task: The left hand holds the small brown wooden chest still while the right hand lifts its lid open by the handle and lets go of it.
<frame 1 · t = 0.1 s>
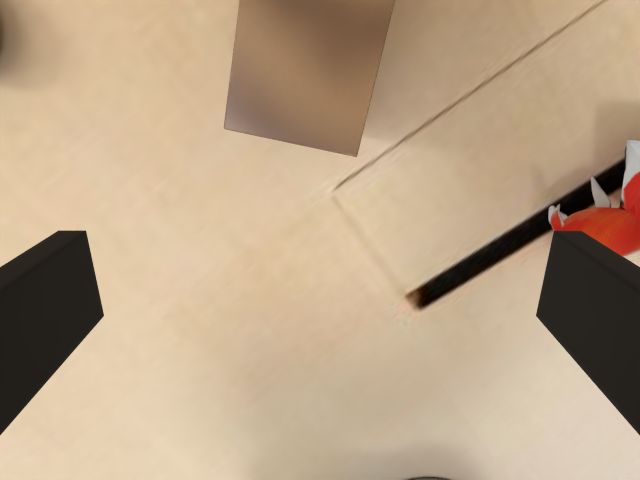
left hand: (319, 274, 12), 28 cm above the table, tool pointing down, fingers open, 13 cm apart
fish: (592, 190, 40), on the table
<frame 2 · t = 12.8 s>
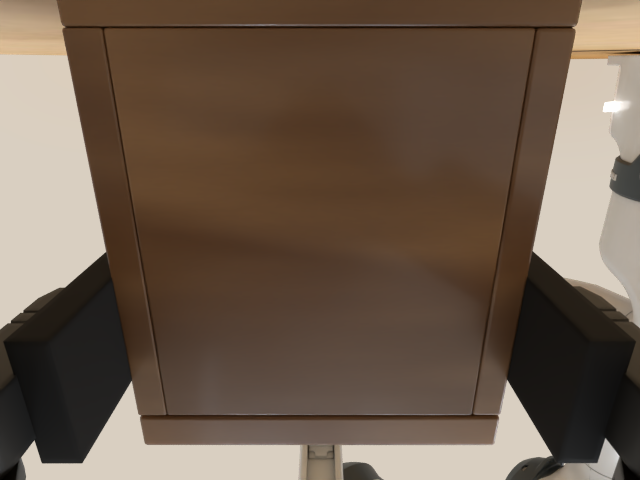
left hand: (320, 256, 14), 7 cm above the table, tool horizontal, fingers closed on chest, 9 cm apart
chest: (319, 24, 15), on the table, touching left hand
lid: (319, 348, 20), point 14 cm above the table, hinge at 0.0°
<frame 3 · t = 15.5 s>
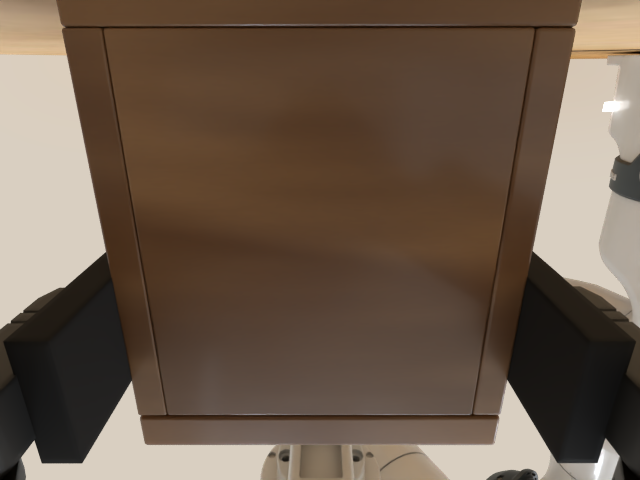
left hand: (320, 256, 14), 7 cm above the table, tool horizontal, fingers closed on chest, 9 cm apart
chest: (319, 24, 15), on the table, touching left hand
lid: (320, 348, 20), point 14 cm above the table, hinge at -0.1°, touching right hand
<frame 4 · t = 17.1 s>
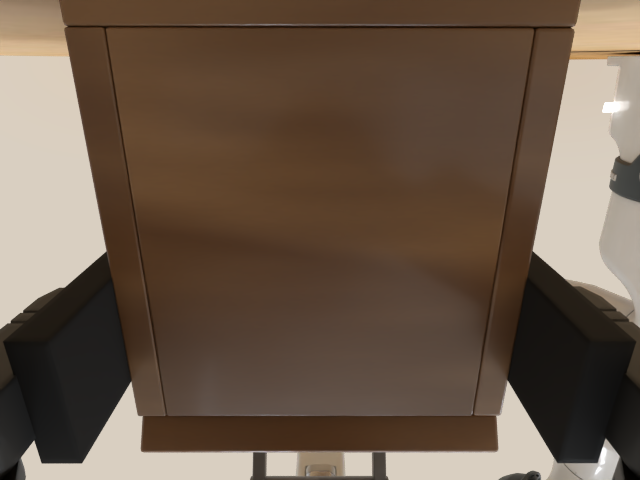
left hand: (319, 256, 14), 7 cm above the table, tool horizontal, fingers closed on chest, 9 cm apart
chest: (319, 27, 15), on the table, touching left hand
lid: (319, 468, 19), point 18 cm above the table, hinge at 30.0°, touching right hand
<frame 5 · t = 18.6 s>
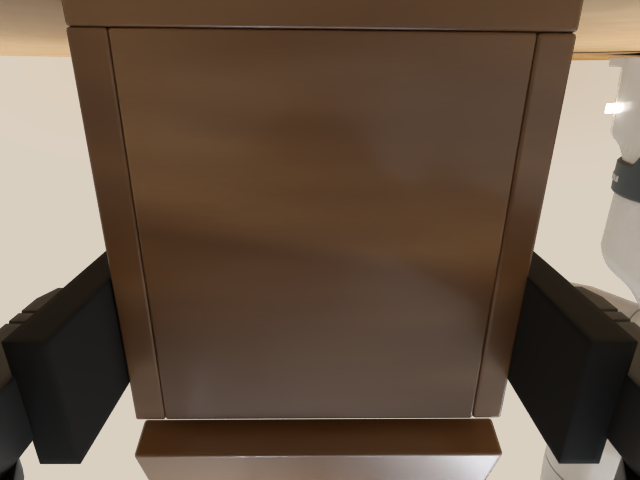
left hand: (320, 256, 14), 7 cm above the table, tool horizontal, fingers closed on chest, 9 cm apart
chest: (318, 29, 15), on the table, touching left hand
when the left hand's fingers open (7 cm above the table, at t = 23.1 s): chest stays where it is, on the table.
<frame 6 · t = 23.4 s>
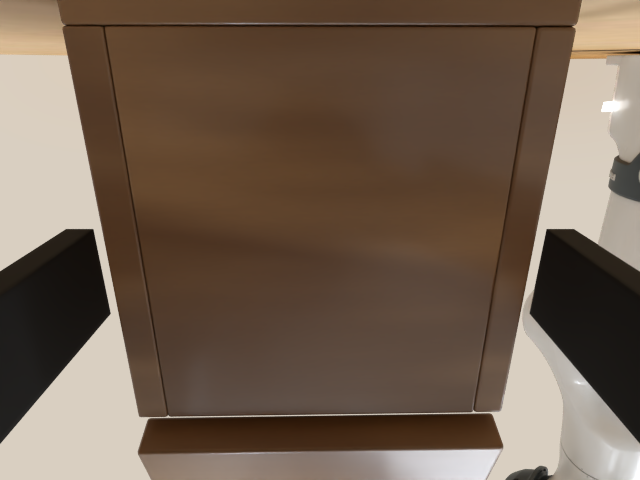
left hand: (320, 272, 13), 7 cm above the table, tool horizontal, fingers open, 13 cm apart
chest: (316, 24, 15), on the table
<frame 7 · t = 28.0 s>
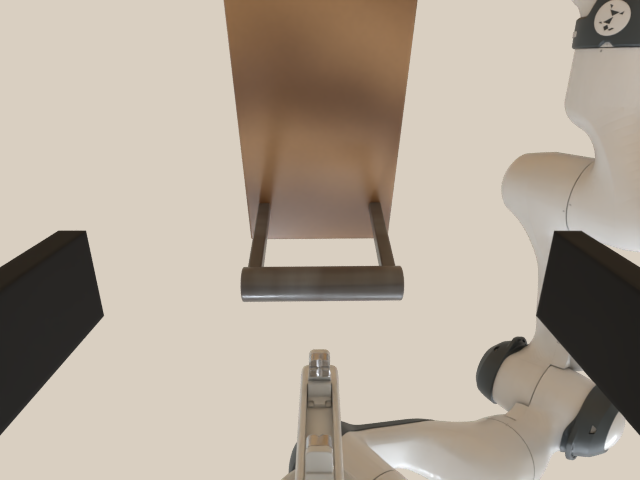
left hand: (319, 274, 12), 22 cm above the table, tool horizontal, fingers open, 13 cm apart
lid: (321, 135, 20), point 19 cm above the table, hinge at 73.8°
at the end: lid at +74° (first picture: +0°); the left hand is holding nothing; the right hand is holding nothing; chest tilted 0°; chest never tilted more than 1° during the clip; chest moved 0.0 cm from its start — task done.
